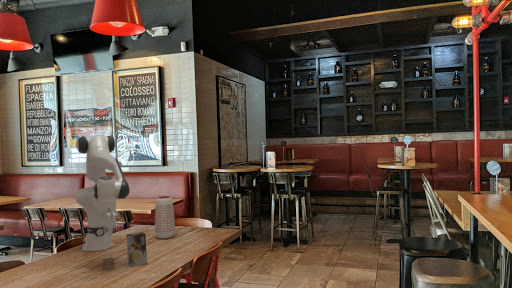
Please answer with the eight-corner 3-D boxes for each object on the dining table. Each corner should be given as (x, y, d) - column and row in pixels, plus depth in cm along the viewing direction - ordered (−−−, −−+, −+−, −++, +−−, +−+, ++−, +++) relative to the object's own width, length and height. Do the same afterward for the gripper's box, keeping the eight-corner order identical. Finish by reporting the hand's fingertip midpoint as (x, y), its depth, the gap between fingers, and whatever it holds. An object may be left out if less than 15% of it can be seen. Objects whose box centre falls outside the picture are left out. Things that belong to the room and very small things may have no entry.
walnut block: (103, 268, 193) (103, 258, 193) (112, 266, 196) (112, 257, 196) (105, 270, 189) (105, 260, 189) (114, 268, 192) (114, 259, 192)
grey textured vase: (179, 236, 257) (177, 196, 257) (164, 240, 246) (163, 198, 246) (165, 234, 264) (164, 195, 265) (151, 238, 253) (149, 197, 253)
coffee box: (144, 260, 204) (143, 231, 204) (147, 263, 198) (146, 233, 198) (127, 263, 199) (126, 233, 199) (129, 266, 194) (128, 236, 194)
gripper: (118, 209, 186) (119, 236, 186) (109, 204, 203) (109, 230, 202) (105, 210, 182) (106, 238, 182) (96, 206, 199) (97, 231, 199)
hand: (108, 234), depth 192 cm, fingers open, 8 cm apart
